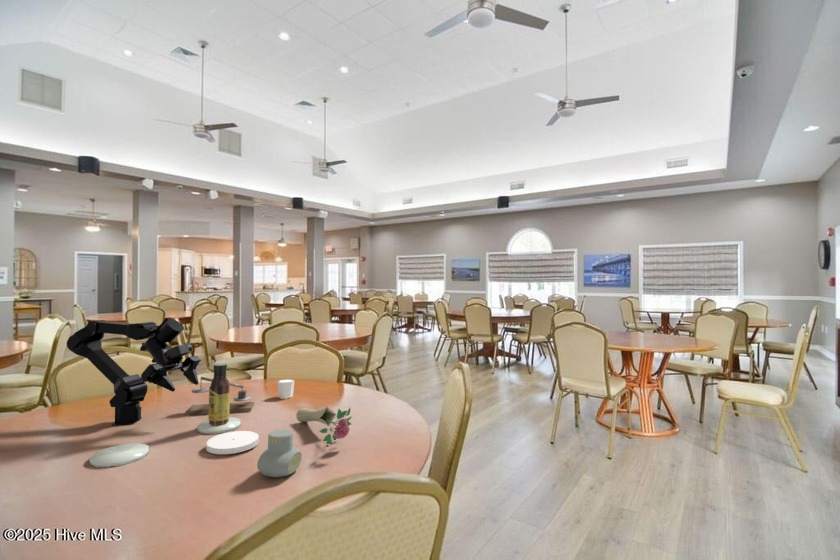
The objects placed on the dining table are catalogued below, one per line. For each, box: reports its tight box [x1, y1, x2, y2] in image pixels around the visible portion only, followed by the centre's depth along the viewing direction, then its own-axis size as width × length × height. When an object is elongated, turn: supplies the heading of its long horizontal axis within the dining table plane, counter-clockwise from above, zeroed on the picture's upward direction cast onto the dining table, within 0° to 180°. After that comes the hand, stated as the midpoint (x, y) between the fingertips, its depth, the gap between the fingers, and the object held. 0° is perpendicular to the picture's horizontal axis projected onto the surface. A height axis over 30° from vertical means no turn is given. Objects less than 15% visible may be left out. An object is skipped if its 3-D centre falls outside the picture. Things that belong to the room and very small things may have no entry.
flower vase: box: [296, 406, 353, 445], centre depth 127 cm, size 12×12×35 cm
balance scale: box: [185, 376, 255, 416], centre depth 153 cm, size 22×8×13 cm, turn 103°
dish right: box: [196, 416, 242, 435], centre depth 135 cm, size 13×13×1 cm
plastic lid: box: [205, 430, 260, 455], centre depth 119 cm, size 14×14×2 cm
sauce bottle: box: [208, 362, 231, 426], centre depth 135 cm, size 6×6×20 cm
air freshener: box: [256, 428, 303, 478], centre depth 103 cm, size 11×8×10 cm
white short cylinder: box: [277, 378, 295, 399], centre depth 172 cm, size 7×7×7 cm
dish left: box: [89, 442, 150, 468], centre depth 111 cm, size 13×13×1 cm
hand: (186, 387), depth 133 cm, fingers open, 9 cm apart
